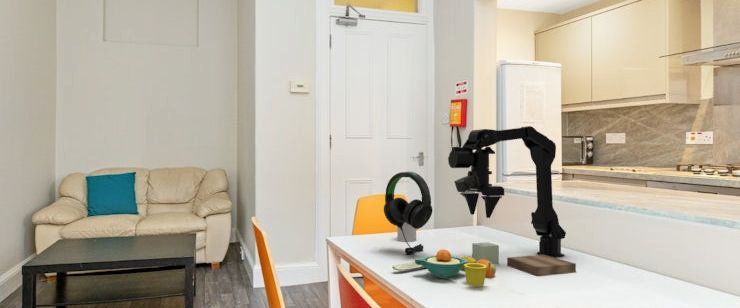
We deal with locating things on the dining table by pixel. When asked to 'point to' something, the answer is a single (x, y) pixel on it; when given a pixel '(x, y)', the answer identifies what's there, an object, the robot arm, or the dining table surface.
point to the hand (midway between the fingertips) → (480, 216)
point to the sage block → (486, 252)
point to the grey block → (406, 233)
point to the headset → (408, 207)
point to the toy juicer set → (453, 267)
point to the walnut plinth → (541, 265)
